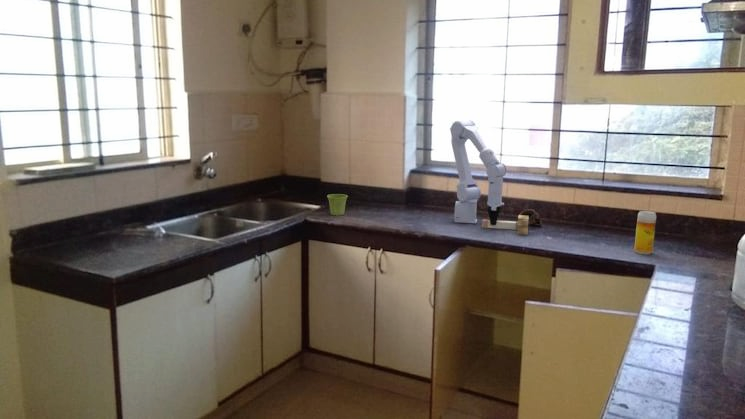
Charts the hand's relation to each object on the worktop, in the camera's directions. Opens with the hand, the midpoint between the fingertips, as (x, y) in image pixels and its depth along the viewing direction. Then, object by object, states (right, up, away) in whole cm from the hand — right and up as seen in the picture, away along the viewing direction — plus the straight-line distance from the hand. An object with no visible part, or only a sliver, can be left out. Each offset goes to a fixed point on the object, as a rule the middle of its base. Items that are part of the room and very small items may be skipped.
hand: (493, 224), depth 255 cm
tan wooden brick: (+10, -3, -8) cm, 13 cm away
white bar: (+3, -2, 0) cm, 3 cm away
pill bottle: (+47, -10, -36) cm, 60 cm away
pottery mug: (+17, -1, +5) cm, 17 cm away
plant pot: (-67, +4, +21) cm, 71 cm away
